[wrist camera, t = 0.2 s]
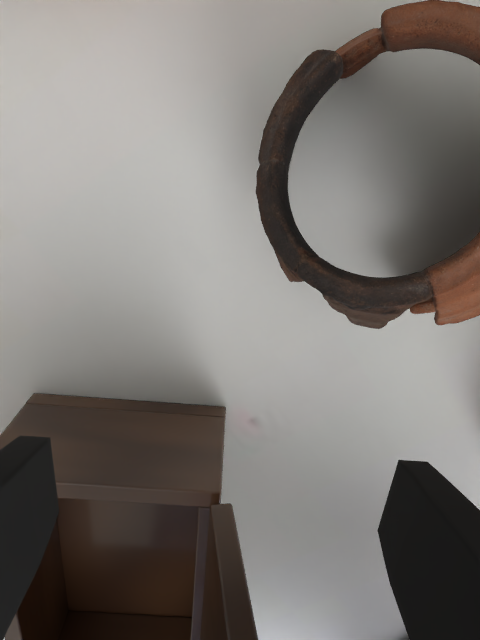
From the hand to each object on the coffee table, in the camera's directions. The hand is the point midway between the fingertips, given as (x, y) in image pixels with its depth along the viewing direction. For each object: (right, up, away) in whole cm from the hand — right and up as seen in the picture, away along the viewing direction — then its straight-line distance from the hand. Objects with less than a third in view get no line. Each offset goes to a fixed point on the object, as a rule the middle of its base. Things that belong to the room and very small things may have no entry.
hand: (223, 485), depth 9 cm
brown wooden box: (-5, -7, +14) cm, 17 cm away
